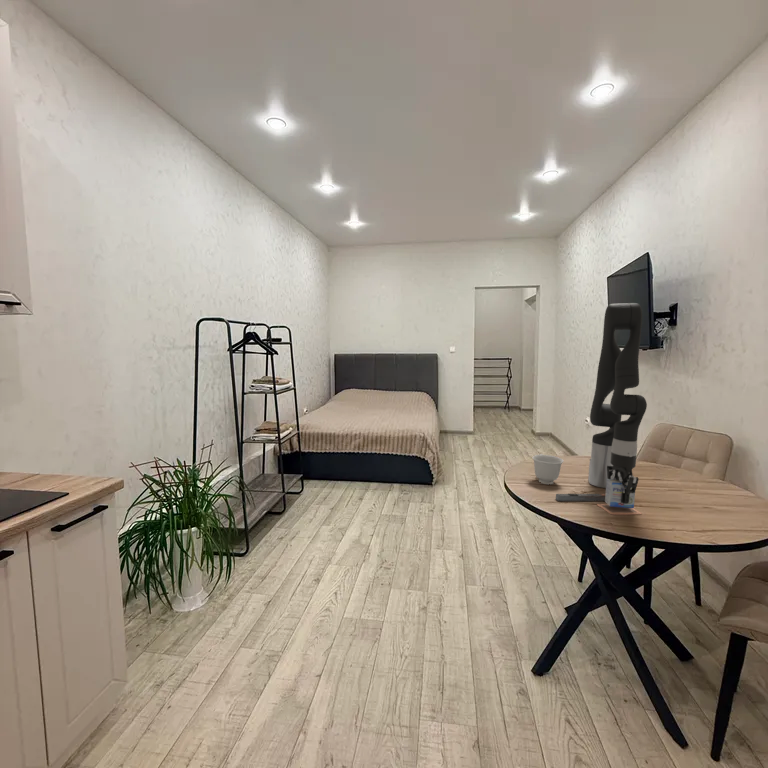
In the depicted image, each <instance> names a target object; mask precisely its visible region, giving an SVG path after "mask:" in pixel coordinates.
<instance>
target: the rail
mask: <svg viewBox="0 0 768 768" xmlns="http://www.w3.org/2000/svg"><path fill="white" fill-rule="evenodd" d="M605 495H606V493H555V500H556V501H558V502H605Z"/></svg>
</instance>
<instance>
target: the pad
mask: <svg viewBox="0 0 768 768" xmlns="http://www.w3.org/2000/svg"><path fill="white" fill-rule="evenodd" d="M596 506H598V507H599V508H600V509H602V510H603V511H605V512H606V513H607V514H609V515H643V513H642V512H640V511H639V510H637V509H635V508H622V507H610V506H609V505H608V504H607V503H596Z"/></svg>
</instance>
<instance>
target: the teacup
mask: <svg viewBox="0 0 768 768" xmlns="http://www.w3.org/2000/svg"><path fill="white" fill-rule="evenodd" d="M531 458H532V460H533V464H534V465H533V469H534V474H535V477H536V478H537V479H538V482H539V483H540V482H541V483H540V484H542V485H549V484H550V485H554V481H557V479H558V478H559V477H560V472H561V468H562V467H561V466H562V464H564V459H563V458H561V457H558V456H555V455H552V454H551V455H550V454H543V453H539V454H535V455H533V456H532V457H531Z"/></svg>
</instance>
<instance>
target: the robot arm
mask: <svg viewBox="0 0 768 768" xmlns="http://www.w3.org/2000/svg"><path fill="white" fill-rule="evenodd" d="M642 327H643V309H642V307H641V305H640V303H636V302H628V303H626V302H625V303H618V302H617V303H610V304H608V305H607V306H606V309H605V312H604V319H603V332H602V345H601V348H600V349H601V351H600V355H599V361H598V367H597V374H596V383H595V389H594V390H595V391H594V396H593V401H592V404H591V409H590V413H589V421H590V424H591V425H593V426H596V427H601V428H603V427H605V428H609V429H607V430H605V431H603V432H599V433H595V434H593V435H592V437H591V438H592V440H591V441H592V442H591V453H590V458H589V465H588V480H587V481H588V483H589V484H590V485H592V486H595V487H597V488H602V489H603V488H604V489H606V483H607V479H613V480H619V481H620V485H621V486H622V497H621V503H623V504H628V503H629V495H630V493H635V494H636V490H637V486H638V483H639V480H640V479H639V477H636V476H634V473H633V470H634V468H636V465H637V454H638V433H639V428H640V425H641V422H642V420H643V417H644V415H645V413H646V410H647V406H648V404H647V400H646V398H645V396H644V395H641V394H625V391H626V390H628V389H634V388H636V387H638V386H639V385H640V373H639V371H640V369H639V355H640V345H641V337H642ZM618 330H619V331H620V330H624V331H627V330H629V337H628V340H627V342H626V343H625V345H624V347H623V349H622V350H621V348H620V347H619V345H618V343H617V340H616V339H615V332H616V331H618ZM612 392H613V393H612ZM611 393H612V395H611V399H610V403H604V402H605V401H606V400H605V399H607V397H608V396H609V395H610V394H611ZM622 416H629V417H628V418H627V419H625V420H622ZM623 482H628V484H625V483H623ZM625 486H627V488H626V489H625ZM631 488H632V489H631Z"/></svg>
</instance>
